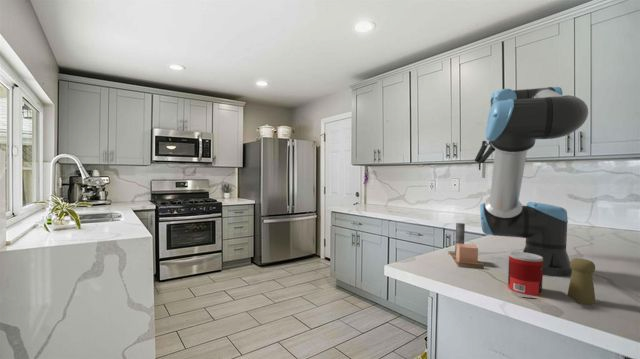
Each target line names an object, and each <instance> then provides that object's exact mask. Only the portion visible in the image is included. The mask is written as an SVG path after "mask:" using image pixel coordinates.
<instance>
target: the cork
mask: <svg viewBox="0 0 640 359" xmlns="http://www.w3.org/2000/svg"><path fill="white" fill-rule="evenodd" d="M570 267H571V269H572V274H571V275H570V281H569V283H568V284H569V285H568V290H567V294H566V296H567V297H569V298H570V299H571V300H573V301H574V302H576V303H578V304H582V305H591V306H593V305H596V304H597V301H596V294H595V286H594V277H593V274H594V272H595V271H596V265H595V263H594V262H593V261H591V260H589V259H586V258H585V259H584V258H573V259H570Z"/></svg>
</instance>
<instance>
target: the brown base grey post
mask: <svg viewBox="0 0 640 359" xmlns="http://www.w3.org/2000/svg"><path fill="white" fill-rule="evenodd" d="M465 228H466V226H465V223H463V222H462V223H461V222H456V223H455V249H454V250H455V251H454V250H448V251H447V255H450V256H451V257H452V259H453V262H454V263H455V264H456V265H457V267H459V268H465V269H466V268H467V269H477V270H478V269H479V270H480V269H481V270H484V269H485V265H484V263H479V262H478V263H468V262H458V261H457V260H456V244H457V243H459V244H465Z"/></svg>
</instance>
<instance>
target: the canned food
mask: <svg viewBox="0 0 640 359" xmlns="http://www.w3.org/2000/svg"><path fill="white" fill-rule="evenodd" d="M507 274H508V277H507V278H508V281H507V288H508V289H509V290H510V291H513V292H515V293H518V294H520V295H527V297H526V296H521V297H522V298H521V299H525V300H526V299H527V300H539V299H540V298H535V297H528V296H541V295H542V294H543V280H544V279H543V278H544V276H543V275H544V274H543V257H541V256H539V255H536V254H531V253H525V252H523V251H511V252H509V255H508V272H507ZM518 297H519V298H520V296H518Z"/></svg>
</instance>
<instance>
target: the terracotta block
mask: <svg viewBox="0 0 640 359" xmlns="http://www.w3.org/2000/svg"><path fill="white" fill-rule="evenodd" d="M455 245H456V260H457V261H458V262H468V263H479V262H478V259H479V258H478V256H479V252H478V251H479V248H478V247H477V246H476V245H475V244H473V243H472V244H471V243H464V244H459V243H457V244H456V243H455Z"/></svg>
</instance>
